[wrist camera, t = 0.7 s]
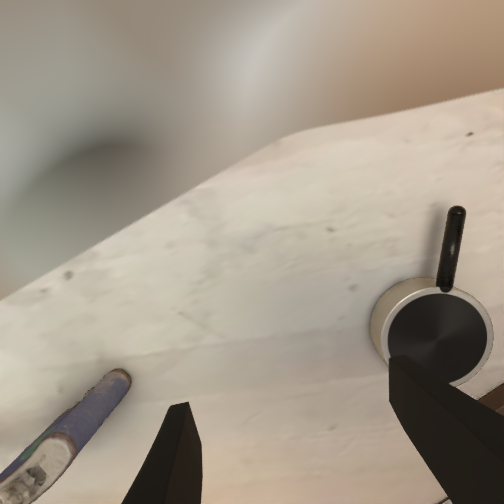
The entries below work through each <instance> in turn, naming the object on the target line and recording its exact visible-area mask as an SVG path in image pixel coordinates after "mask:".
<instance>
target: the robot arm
mask: <svg viewBox="0 0 504 504" xmlns="http://www.w3.org/2000/svg"><path fill="white" fill-rule="evenodd" d="M389 402H390V404H391V406H392V408H393V410H394V412H395V414H396V416H397V418H398V419H399V421H400V423H401V425H402V427H403V429H404V431H405V432H406V434H407V435H408V437H409V438H410V440H411V441H412V443H413V444H414V446H415V447H416V449H417V451H418V452H419V454H420V455H421V457H422V458H423V460H424V461H425V463H426V464H427V466H428V467H429V469H430V470H431V472H432V473H433V475H434V476H435V478H436V479H437V481H438V482H439V484H440V485H441V487H442V488H443V490H444V491H445V493H446V494H447V496H448V497H449V500H447V501H445V502H444V503H442V504H504V416H503V415H501V414H499V413H498V412H496V411H494V410H492V409H491V408H489V407H487V406H485V405H484V404H482V403H480V402H478V401H477V400H475V399H473V398H472V397H470V396H468V395H467V394H465V393H464V392H462V391H460V390H459V389H457V388H456V387H454V386H452V385H451V384H449V383H448V382H446V381H445V380H443V379H442V378H440V377H439V376H437V375H436V374H434V373H432V372H431V371H429V370H428V369H426V368H425V367H424V366H422V365H421V364H419V363H418V362H416V361H415V360H413V359H412V358H410V357H409V356H407V355H405V354H404V355H400V356H395V357H391V358H389ZM202 477H203V474H202V446H201V441H200V437H199V434H198V431H197V428H196V425H195V421H194V418H193V415H192V412H191V408H190V405H189V402H185V403H180V404H176V405H171V406H170V407H169V409H168V411H167V414H166V416H165V418H164V421H163V423H162V425H161V428H160V430H159V432H158V434H157V436H156V439H155V441H154V443H153V445H152V447H151V449H150V451H149V453H148V455H147V457H146V459H145V461H144V463H143V465H142V467H141V469H140V471H139V473H138V475H137V477H136V478H135V480H134V482H133V484H132V486H131V487H130V489H129V491H128V493H127V495H126V496H125V498H124V500H123V502H122V503H121V504H201V493H202Z"/></svg>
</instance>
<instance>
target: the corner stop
mask: <svg viewBox="0 0 504 504" xmlns="http://www.w3.org/2000/svg"><path fill="white" fill-rule="evenodd" d="M478 402H480V403H482V404H484V405H485V406H487V407H489V408H491V409H492V410H494V411H496V412H498V413H499V414H501V415H503V416H504V384H502V385H501V386H499V387H498V388H496V389H495V390H493V391H492V392H490V393H489V394H487V395H485V396H484V397H482V398H481V399H479V400H478Z"/></svg>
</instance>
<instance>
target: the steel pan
mask: <svg viewBox="0 0 504 504" xmlns="http://www.w3.org/2000/svg"><path fill="white" fill-rule="evenodd" d="M465 218H466V210H465V208H463V207H462V206H453V207H451V208H450V209H449V211H448V215H447V221H446V227H445V232H444V238H443V244H442V250H441V255H440V261H439V267H438V273H437V279H432V278H413V279H408V280H405V281H402V282H400V283H398V284H396V285H394V286H393V287H391V288H390V289H388V290H387V291H386V292H385V293H384V294H383V295H382V296H381V297H380V299H379V300H378V301H377V303H376V305H375V307H374V309H373V311H372V314H371V319H370V335H371V339H372V342H373V344H374V346H375V348H376V350H377V351H378V353H379V354H380V356H381V357H382V359H383V360H384V362H385V363H386V365H387V366H388V367H389V358H391V357H395V356H400V355H404V354H405V355H407V356H409V357H410V358H412V359H413V360H415V361H416V362H418V363H419V364H421V365H422V366H424V367H425V368H426V369H428V370H429V371H431V372H432V373H434V374H436V375H437V376H439V377H440V378H442V379H443V380H445V381H446V382H448V383H449V384H451V385H452V386H454V387H456V386H458V385H460V384H463V383H464V382H466V381H468V380H469V379H471V378H472V377H473V376H475V375H476V374H477V373H478V372H479V371H480V370H481V368H482V367H483V366H484V365H485V363H486V361H487V360H488V358H489V355H490V353H491V350H492V346H493V326H492V323H491V319H490V317H489V315H488V313H487V311H486V310H485V308H484V307H483V306H482V305H481V303H480V302H479V301H478V300H476V299H475V298H474V297H473V296H471V295H470V294H468V293H466V292H464V291H462V290H460V289H458V288H456V287H453V284H454V278H455V273H456V267H457V262H458V256H459V251H460V245H461V240H462V234H463V229H464V223H465Z"/></svg>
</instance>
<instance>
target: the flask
mask: <svg viewBox="0 0 504 504" xmlns="http://www.w3.org/2000/svg"><path fill="white" fill-rule="evenodd" d="M127 376H128V377H127ZM128 379H129V381H128ZM130 384H131V380H130V377H129V375H128V374H127V375H126V373H125V372H124V371H123V370H122V369H118V370H113V371H111V372H110V373H108V374H107V375H105V376H104V377H103V379H102V380H101V381H100V383H99V384H98V385H96V387H92V388H91V389H90V390H88V392H87V393H85V395H84V396H85V397H83V400H82V401H81V402H76V404H75V406H74V407H73V408H72V409H67V411H66V412H64V413H63V414H62V415H61V416H59V417H58V418H57V419H56V420H55V421H54V422H53V423H52V424H51V425H50V426H49V427H48V428H47V429H46V430H45V431H44V432H43V433H42V434H41V435H40V436H39V437H38V438H37V439H36V440H35V441H34V442H33V443H32V444H31V445H29V446H28V447H27V448H26V449H25V450H24V451H23V452H22V453H21V454H20V455H19V456H18V457H17V458H16V459H15V460H14V461H13V462H12V463H11V464H10V465H9V466H8V467H7V468H6V469H5V470H4V471H3V472H2V473H1V474H0V504H31V503H32V502H34V501H36V500H37V499H38V498H39V497H40V496H41V495H42V494H43V493H44V492H46V491H47V490H48V489H49V488H50V487H51V486H52V485H53V484H54V483H55V482H56V481H57V480H58V479H59V477H61V476H62V474H63V473H64V472H65V471H66V469H67V468H68V467H69V466H70V465H71V463H72V462H73V460H74V459H75V458H76V456H77V455H78V453H79V452H80V451H81V450H82V448H83V447H84V446H85V445H86V443H87V442H88V441H89V440H90V439H91V437H92V436H93V435H94V434H95V432H96V431H97V429H98V428H99V427H100V426H101V425H102V423H103V422H104V420H105V419H106V418H107V417H108V416H109V415H110V413H111V412H112V411H113V410H114V408H115V407H116V406H117V405H118V404H119V402H120V401H121V400H122V399H123V398H124V396H125V395H126V394H127V392H128V390H129V388H130Z"/></svg>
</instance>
